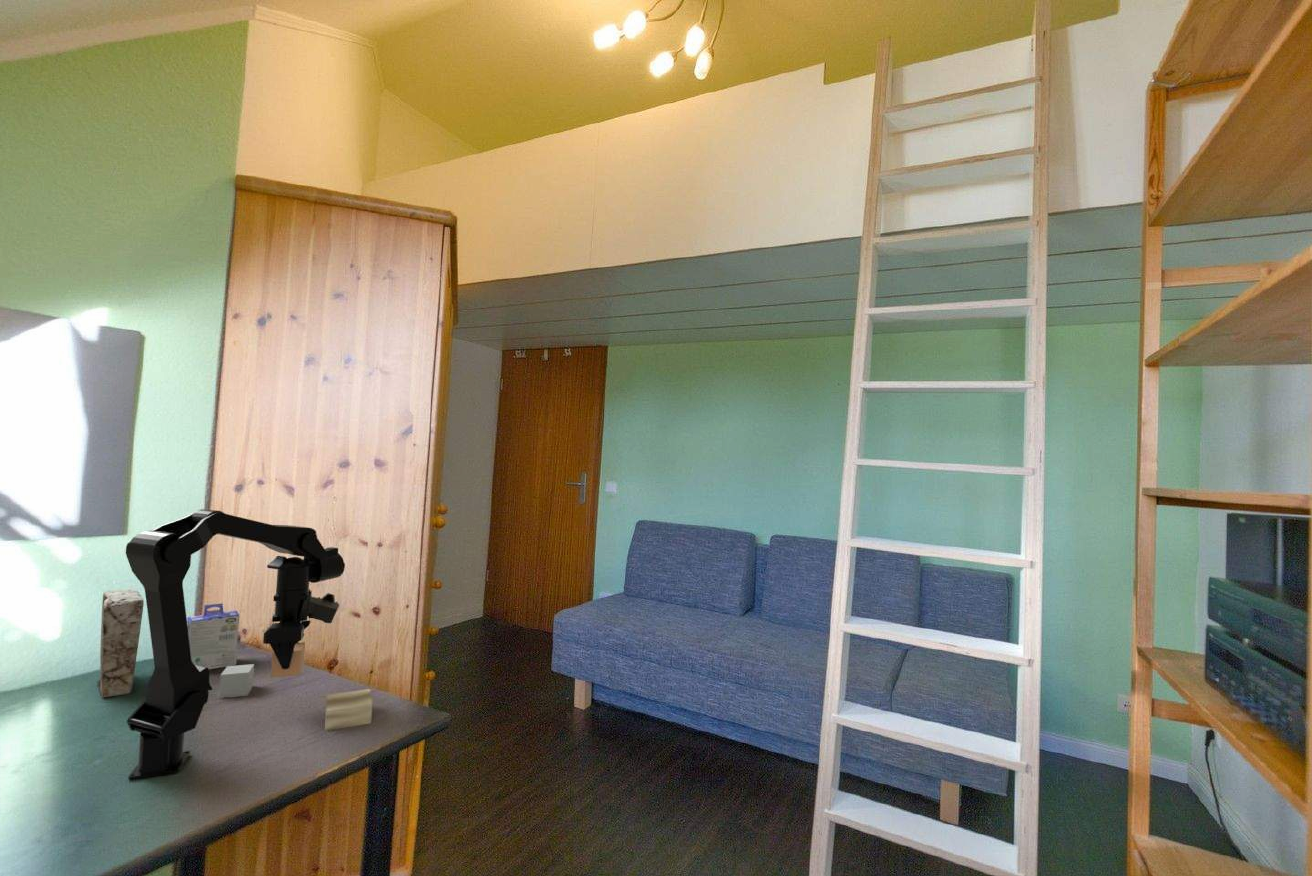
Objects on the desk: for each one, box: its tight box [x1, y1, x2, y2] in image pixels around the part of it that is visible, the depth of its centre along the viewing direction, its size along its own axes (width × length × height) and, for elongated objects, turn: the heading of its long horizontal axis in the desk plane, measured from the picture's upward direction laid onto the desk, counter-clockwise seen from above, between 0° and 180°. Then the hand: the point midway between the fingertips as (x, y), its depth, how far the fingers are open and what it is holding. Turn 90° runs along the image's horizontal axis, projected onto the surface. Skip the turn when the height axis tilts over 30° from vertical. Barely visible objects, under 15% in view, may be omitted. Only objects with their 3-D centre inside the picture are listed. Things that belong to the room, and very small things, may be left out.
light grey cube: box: [218, 663, 255, 699], centre depth 126 cm, size 5×5×5 cm
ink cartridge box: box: [187, 603, 240, 671], centre depth 139 cm, size 10×6×14 cm, turn 133°
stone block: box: [96, 589, 145, 698], centre depth 125 cm, size 13×7×20 cm, turn 52°
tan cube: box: [270, 641, 306, 679], centre depth 119 cm, size 5×5×5 cm
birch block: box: [324, 688, 373, 732], centre depth 117 cm, size 8×8×4 cm
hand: (288, 664), depth 119 cm, fingers closed on tan cube, 5 cm apart
